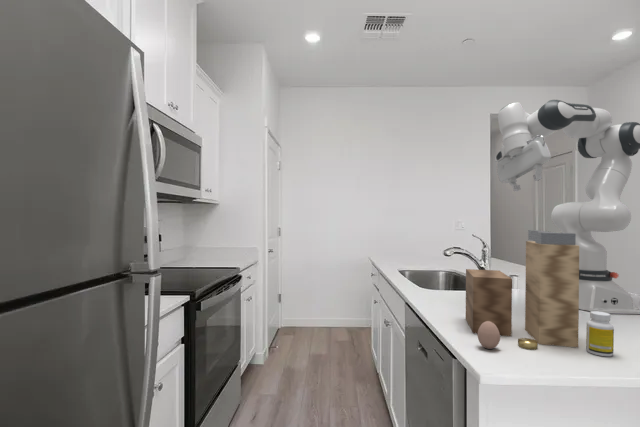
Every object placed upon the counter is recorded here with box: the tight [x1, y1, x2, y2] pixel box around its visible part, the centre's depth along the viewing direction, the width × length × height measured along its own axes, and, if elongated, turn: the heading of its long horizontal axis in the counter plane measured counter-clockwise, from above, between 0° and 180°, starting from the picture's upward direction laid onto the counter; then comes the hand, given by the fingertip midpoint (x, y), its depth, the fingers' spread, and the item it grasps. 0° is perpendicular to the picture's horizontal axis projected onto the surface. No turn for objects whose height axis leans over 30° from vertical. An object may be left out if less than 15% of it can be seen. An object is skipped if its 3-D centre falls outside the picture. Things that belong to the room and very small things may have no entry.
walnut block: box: [465, 268, 513, 337], centre depth 114 cm, size 10×16×16 cm, turn 166°
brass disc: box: [517, 337, 539, 351], centre depth 97 cm, size 4×4×2 cm
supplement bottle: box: [585, 311, 615, 357], centre depth 93 cm, size 5×5×10 cm
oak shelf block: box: [524, 240, 580, 348], centre depth 104 cm, size 9×13×26 cm
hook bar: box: [527, 229, 576, 245], centre depth 109 cm, size 21×8×3 cm, turn 166°
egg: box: [477, 321, 501, 350], centre depth 96 cm, size 5×5×7 cm
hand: (527, 185), depth 125 cm, fingers open, 8 cm apart
